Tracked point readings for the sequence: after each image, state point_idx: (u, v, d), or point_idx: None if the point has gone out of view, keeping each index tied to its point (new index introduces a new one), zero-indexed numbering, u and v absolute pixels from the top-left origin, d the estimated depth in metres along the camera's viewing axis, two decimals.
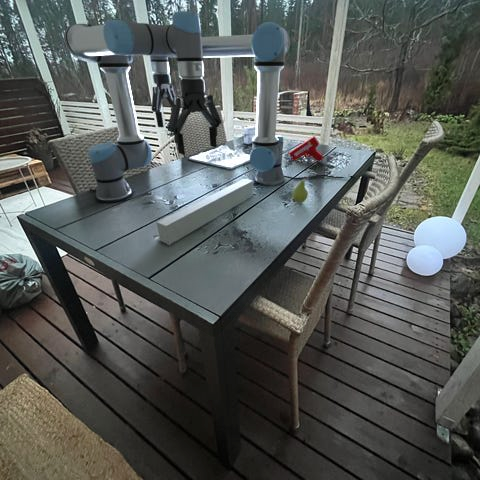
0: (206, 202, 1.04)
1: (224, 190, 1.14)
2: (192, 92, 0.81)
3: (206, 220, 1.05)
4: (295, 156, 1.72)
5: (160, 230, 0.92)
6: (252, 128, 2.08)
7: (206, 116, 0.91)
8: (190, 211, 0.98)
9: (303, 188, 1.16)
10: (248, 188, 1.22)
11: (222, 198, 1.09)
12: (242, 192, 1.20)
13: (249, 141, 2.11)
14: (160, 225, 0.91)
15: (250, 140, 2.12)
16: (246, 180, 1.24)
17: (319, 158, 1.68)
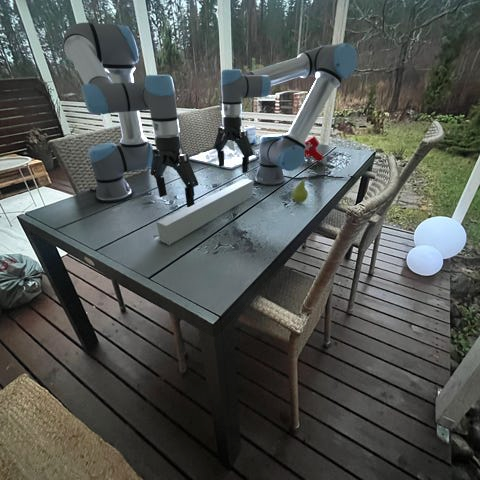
0: (206, 202, 1.04)
1: (224, 190, 1.14)
2: None
3: (206, 220, 1.05)
4: None
5: (160, 230, 0.92)
6: (252, 128, 2.08)
7: None
8: (190, 211, 0.98)
9: (303, 188, 1.16)
10: (248, 188, 1.22)
11: (222, 198, 1.09)
12: (242, 192, 1.20)
13: (249, 141, 2.11)
14: (160, 225, 0.91)
15: (250, 140, 2.12)
16: (246, 180, 1.24)
17: (319, 158, 1.68)
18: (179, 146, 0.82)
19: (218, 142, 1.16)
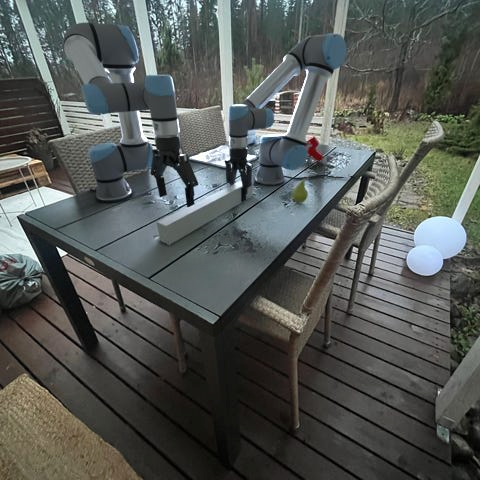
0: (206, 202, 1.04)
1: (224, 190, 1.14)
2: None
3: (206, 220, 1.05)
4: None
5: (160, 230, 0.92)
6: None
7: None
8: (190, 211, 0.98)
9: (303, 188, 1.16)
10: (248, 188, 1.22)
11: (222, 198, 1.09)
12: None
13: (249, 141, 2.11)
14: (160, 225, 0.91)
15: (250, 140, 2.12)
16: None
17: (319, 158, 1.68)
18: (179, 146, 0.82)
19: (229, 174, 1.20)
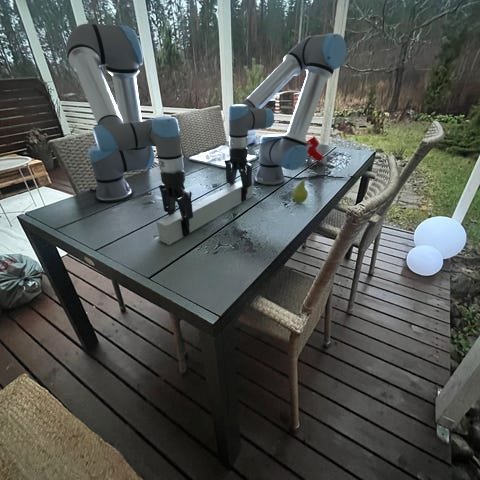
0: (206, 202, 1.04)
1: (224, 190, 1.14)
2: None
3: (206, 220, 1.05)
4: None
5: (160, 230, 0.92)
6: None
7: None
8: None
9: (303, 188, 1.16)
10: (248, 188, 1.22)
11: (222, 198, 1.09)
12: None
13: (249, 141, 2.11)
14: (160, 225, 0.91)
15: (250, 140, 2.12)
16: None
17: (319, 158, 1.68)
18: (183, 180, 0.87)
19: (229, 174, 1.20)
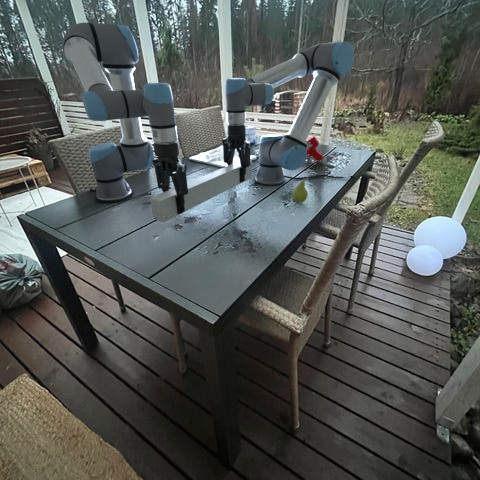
0: (202, 180, 1.00)
1: (221, 169, 1.10)
2: None
3: (202, 199, 1.01)
4: None
5: (154, 207, 0.88)
6: (252, 128, 2.08)
7: None
8: None
9: (303, 188, 1.16)
10: (246, 169, 1.18)
11: (220, 177, 1.05)
12: None
13: (249, 141, 2.11)
14: (153, 201, 0.87)
15: (250, 140, 2.12)
16: None
17: (319, 158, 1.68)
18: (177, 152, 0.83)
19: (226, 154, 1.15)
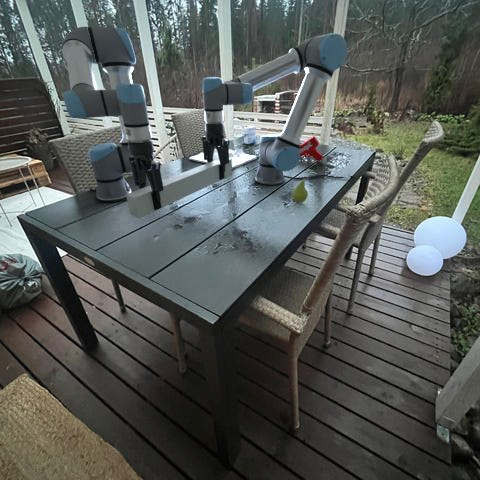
0: (179, 177, 1.03)
1: (200, 167, 1.13)
2: None
3: (180, 196, 1.04)
4: None
5: (130, 203, 0.91)
6: (252, 128, 2.08)
7: None
8: None
9: (303, 188, 1.16)
10: (226, 166, 1.21)
11: (198, 174, 1.08)
12: None
13: (249, 141, 2.11)
14: (129, 197, 0.90)
15: (250, 140, 2.12)
16: None
17: (319, 158, 1.68)
18: (152, 150, 0.86)
19: (206, 152, 1.18)
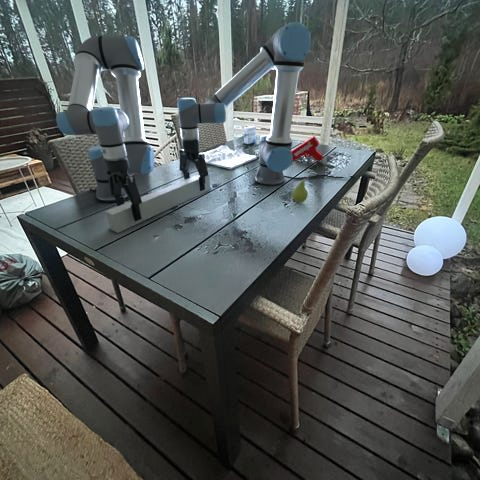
0: (157, 194, 1.11)
1: (178, 183, 1.21)
2: None
3: (158, 211, 1.12)
4: (295, 156, 1.72)
5: (109, 219, 0.99)
6: (252, 128, 2.08)
7: None
8: None
9: (303, 188, 1.16)
10: None
11: (175, 190, 1.16)
12: (198, 185, 1.27)
13: (249, 141, 2.11)
14: (108, 214, 0.98)
15: (250, 140, 2.12)
16: None
17: (319, 158, 1.68)
18: (127, 167, 0.93)
19: (182, 164, 1.26)
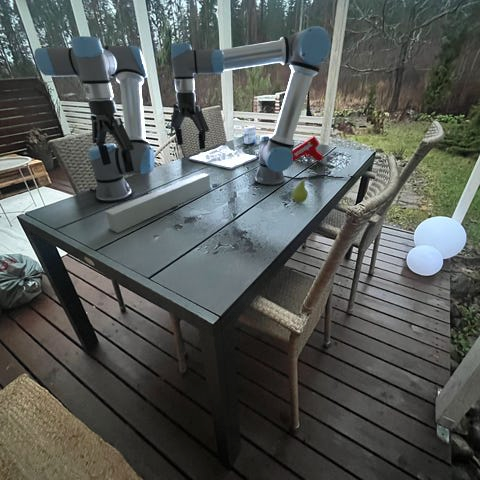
0: (157, 194, 1.11)
1: (178, 183, 1.21)
2: None
3: (158, 211, 1.12)
4: (295, 156, 1.72)
5: (109, 219, 0.99)
6: (252, 128, 2.08)
7: None
8: (139, 202, 1.05)
9: (303, 188, 1.16)
10: (204, 182, 1.29)
11: (175, 190, 1.16)
12: (198, 185, 1.27)
13: (249, 141, 2.11)
14: (108, 214, 0.98)
15: (250, 140, 2.12)
16: (203, 174, 1.31)
17: (319, 158, 1.68)
18: (113, 110, 0.84)
19: (175, 120, 1.17)
